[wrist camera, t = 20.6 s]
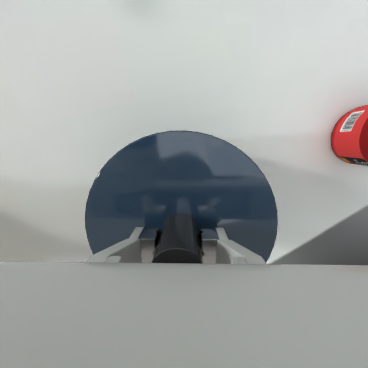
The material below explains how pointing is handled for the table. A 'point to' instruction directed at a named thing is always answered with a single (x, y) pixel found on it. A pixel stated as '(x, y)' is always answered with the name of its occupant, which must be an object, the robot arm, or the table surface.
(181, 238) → the lid
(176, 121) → the table surface
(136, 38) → the table surface
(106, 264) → the robot arm
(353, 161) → the canned food
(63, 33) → the table surface
